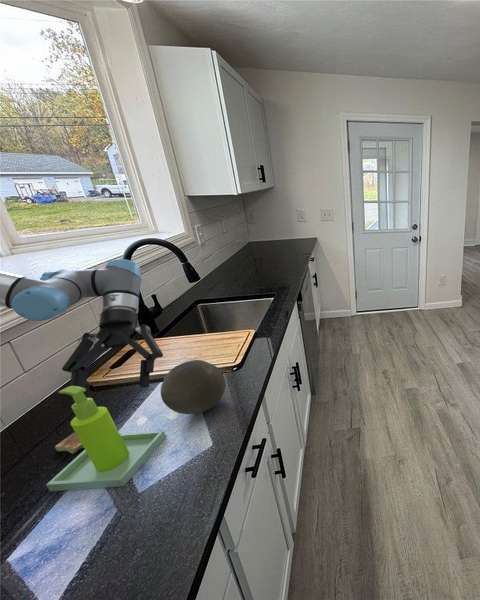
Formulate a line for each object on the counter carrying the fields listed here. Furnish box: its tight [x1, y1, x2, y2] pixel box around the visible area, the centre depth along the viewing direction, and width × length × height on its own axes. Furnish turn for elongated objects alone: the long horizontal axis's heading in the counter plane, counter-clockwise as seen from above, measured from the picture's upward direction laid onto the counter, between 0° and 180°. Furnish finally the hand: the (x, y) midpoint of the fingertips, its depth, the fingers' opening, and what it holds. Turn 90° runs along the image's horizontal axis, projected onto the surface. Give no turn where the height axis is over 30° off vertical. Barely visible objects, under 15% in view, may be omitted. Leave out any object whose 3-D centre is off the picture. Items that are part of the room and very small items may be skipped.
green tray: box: [45, 430, 167, 492], centre depth 72 cm, size 16×14×2 cm
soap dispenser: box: [57, 385, 129, 472], centre depth 69 cm, size 6×7×20 cm
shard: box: [54, 431, 84, 455], centre depth 80 cm, size 11×8×2 cm
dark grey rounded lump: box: [160, 359, 227, 415], centre depth 85 cm, size 14×14×15 cm
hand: (111, 392), depth 76 cm, fingers open, 13 cm apart
